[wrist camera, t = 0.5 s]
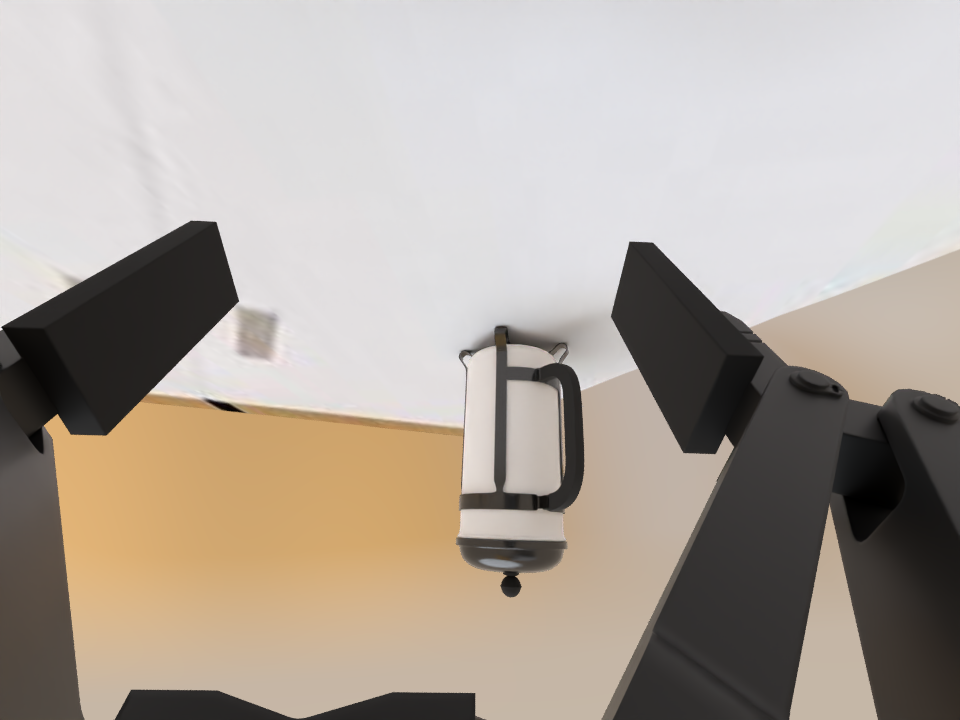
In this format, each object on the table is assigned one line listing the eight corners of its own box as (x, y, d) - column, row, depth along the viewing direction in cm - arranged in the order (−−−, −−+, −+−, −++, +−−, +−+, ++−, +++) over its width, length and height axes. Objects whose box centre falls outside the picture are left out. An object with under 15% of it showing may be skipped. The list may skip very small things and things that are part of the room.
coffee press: (576, 365, 65) (587, 593, 54) (470, 369, 68) (461, 585, 57) (577, 311, 49) (593, 618, 38) (439, 319, 52) (418, 606, 41)
